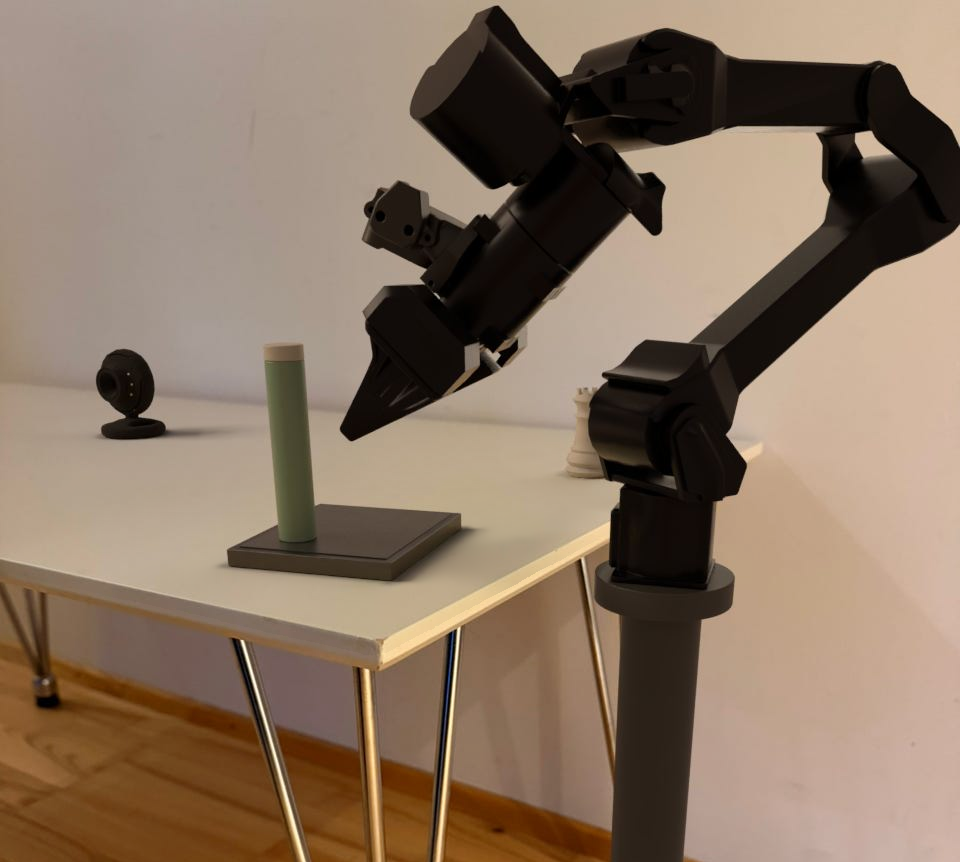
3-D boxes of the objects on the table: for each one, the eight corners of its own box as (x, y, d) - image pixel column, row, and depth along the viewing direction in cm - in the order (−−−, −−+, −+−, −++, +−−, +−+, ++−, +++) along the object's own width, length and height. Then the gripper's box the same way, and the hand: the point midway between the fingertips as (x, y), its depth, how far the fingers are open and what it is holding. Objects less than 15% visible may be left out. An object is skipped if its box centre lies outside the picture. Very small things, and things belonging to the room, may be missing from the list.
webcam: (87, 436, 118) (74, 350, 115) (135, 427, 124) (124, 345, 121) (132, 441, 115) (120, 352, 111) (180, 432, 121) (170, 347, 117)
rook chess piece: (605, 468, 97) (608, 385, 94) (616, 477, 93) (619, 391, 90) (560, 470, 96) (562, 386, 94) (569, 479, 92) (571, 392, 89)
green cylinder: (311, 531, 70) (297, 341, 65) (321, 540, 68) (307, 344, 63) (275, 535, 69) (258, 343, 64) (284, 544, 67) (267, 346, 62)
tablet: (461, 528, 76) (461, 512, 75) (391, 581, 63) (390, 562, 63) (320, 518, 79) (319, 502, 79) (228, 566, 67) (226, 548, 66)
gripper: (480, 149, 65) (335, 323, 72) (392, 111, 48) (212, 343, 55) (595, 275, 66) (442, 435, 73) (548, 280, 49) (353, 489, 56)
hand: (370, 424), depth 64 cm, fingers open, 9 cm apart
